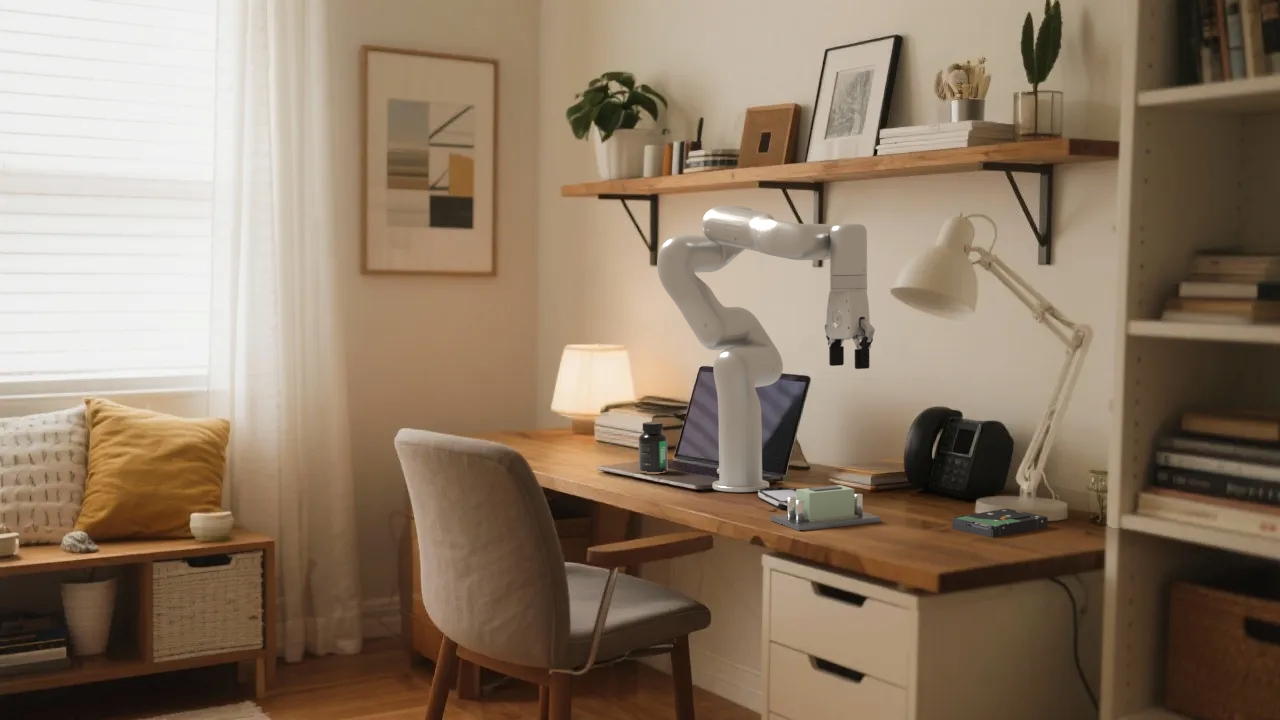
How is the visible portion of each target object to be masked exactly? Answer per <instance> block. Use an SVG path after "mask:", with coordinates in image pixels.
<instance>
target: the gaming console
mask: <svg viewBox="0 0 1280 720" xmlns="http://www.w3.org/2000/svg"><path fill="white" fill-rule="evenodd" d="M796 489H797V488H794V487H793V488H792V487H784V486H775V487H770V486H769V487H766V488H763V489H759V490H758V491H757V495H756V496H757V498H759V499H760V500H762V501H764V502H765V503H767V504H768V505H771V506H773V507H776V508H778V509H780V510H782V511H788V504H787V497H796Z"/></svg>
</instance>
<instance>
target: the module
mask: <svg viewBox="0 0 1280 720" xmlns="http://www.w3.org/2000/svg"><path fill="white" fill-rule="evenodd" d="M795 489H796V500H798V499H802V500H804V518H807V519H817V518H827V517H836V516H845V515H854V494H855V488H852V487H848V486H845V485H842V484H837V485H826V486H815V487H808V488H807V487H806V488H795Z"/></svg>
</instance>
